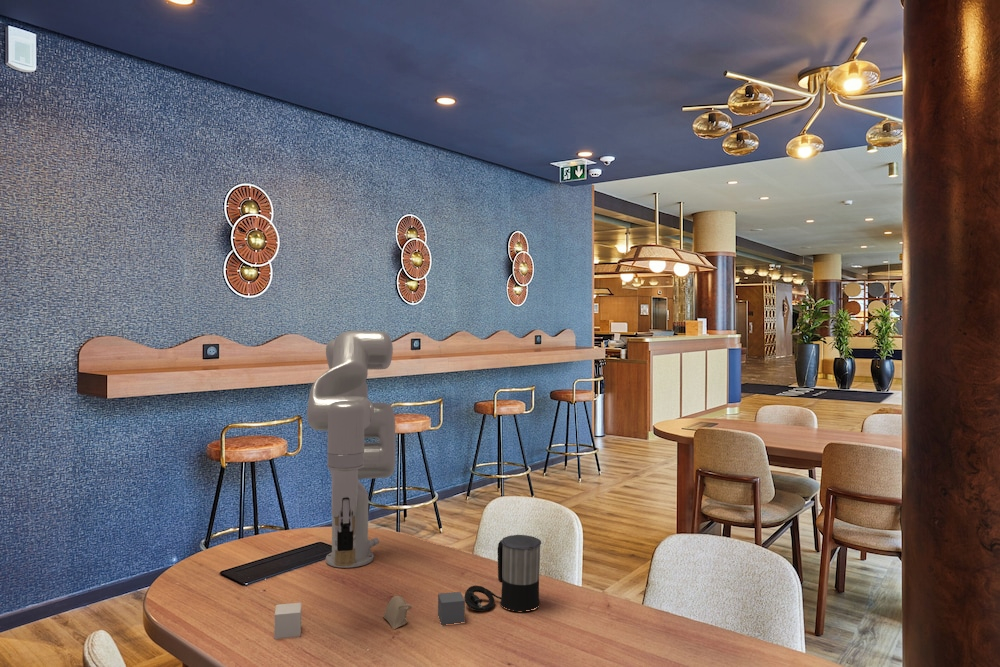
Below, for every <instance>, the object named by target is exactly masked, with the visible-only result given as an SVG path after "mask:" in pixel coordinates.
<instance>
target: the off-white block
mask: <svg viewBox="0 0 1000 667" xmlns="http://www.w3.org/2000/svg"><path fill="white" fill-rule="evenodd" d="M274 611H275V612H274V633H273V634H274V640H277V639H278V640H280V639H288V638H297V637H299V638H300V637H301V630H302V602H294V603H291V602H290V603H283V604H276V605H275V610H274Z"/></svg>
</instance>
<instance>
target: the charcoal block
mask: <svg viewBox="0 0 1000 667" xmlns="http://www.w3.org/2000/svg"><path fill="white" fill-rule="evenodd" d="M437 594H438V595H437V617H438V616H439V618H438V620H439V619H440V620H439V623H440V622H441V623H440V626H441V625H445V626H447V625H446V624H454V623H461V622H466V621H465V620H466V619H465V616H466V615H465V612H466V609H465V607H466V603H465V599H464V596H463V594H462V591H455V592H453V591H452V592H443V593H442V592H440V593H437Z"/></svg>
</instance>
